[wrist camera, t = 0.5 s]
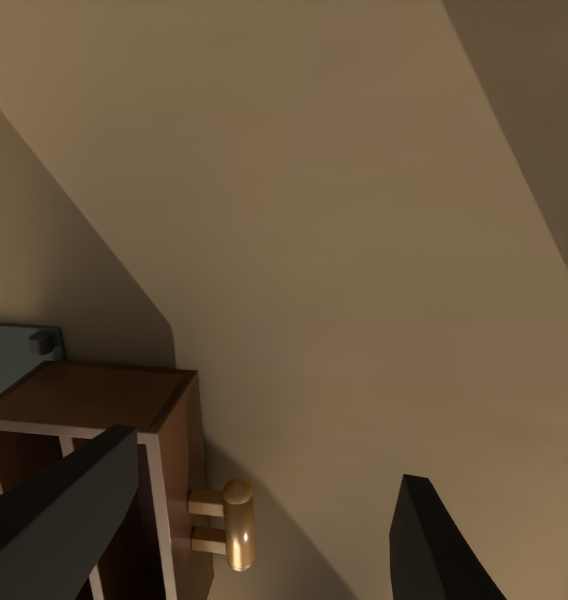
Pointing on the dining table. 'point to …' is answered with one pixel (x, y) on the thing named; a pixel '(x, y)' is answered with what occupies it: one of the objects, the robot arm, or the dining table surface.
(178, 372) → the drawer
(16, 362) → the flat teal board
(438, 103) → the dining table surface
